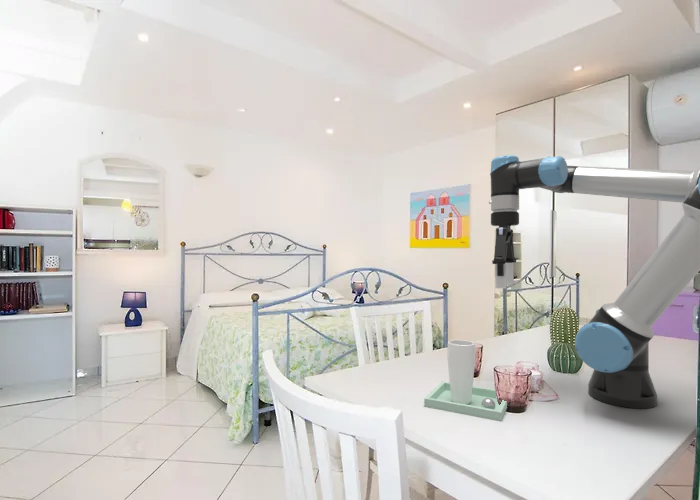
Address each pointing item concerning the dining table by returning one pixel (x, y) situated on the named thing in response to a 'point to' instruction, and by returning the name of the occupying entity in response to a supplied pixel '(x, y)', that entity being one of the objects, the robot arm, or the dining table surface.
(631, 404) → the robot arm
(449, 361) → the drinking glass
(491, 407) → the shiny metal ball
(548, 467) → the dining table surface
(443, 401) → the tray
